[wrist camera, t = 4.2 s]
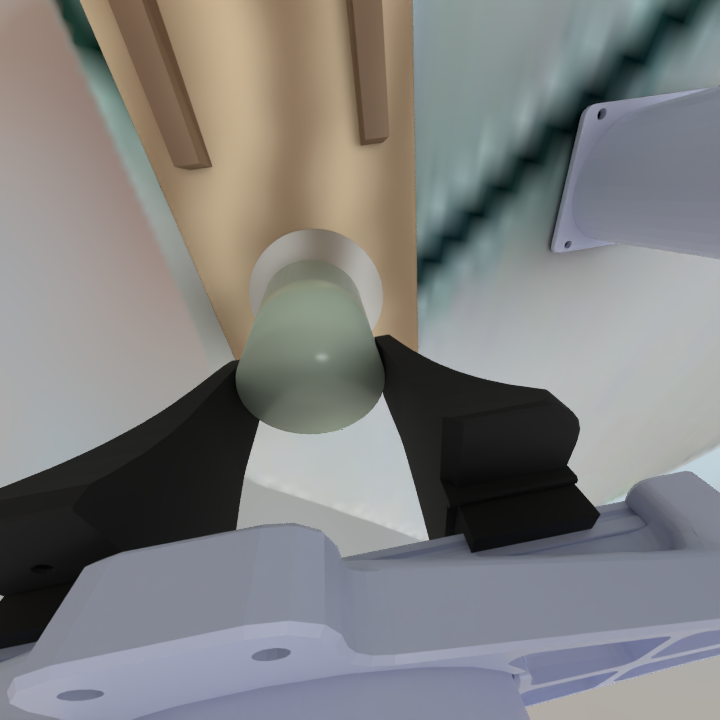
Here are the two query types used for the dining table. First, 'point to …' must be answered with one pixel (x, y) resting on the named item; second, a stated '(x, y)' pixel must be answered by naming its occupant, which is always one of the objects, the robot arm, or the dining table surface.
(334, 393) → the sage green cylinder
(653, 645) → the robot arm
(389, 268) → the board
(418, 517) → the dining table surface
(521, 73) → the dining table surface
